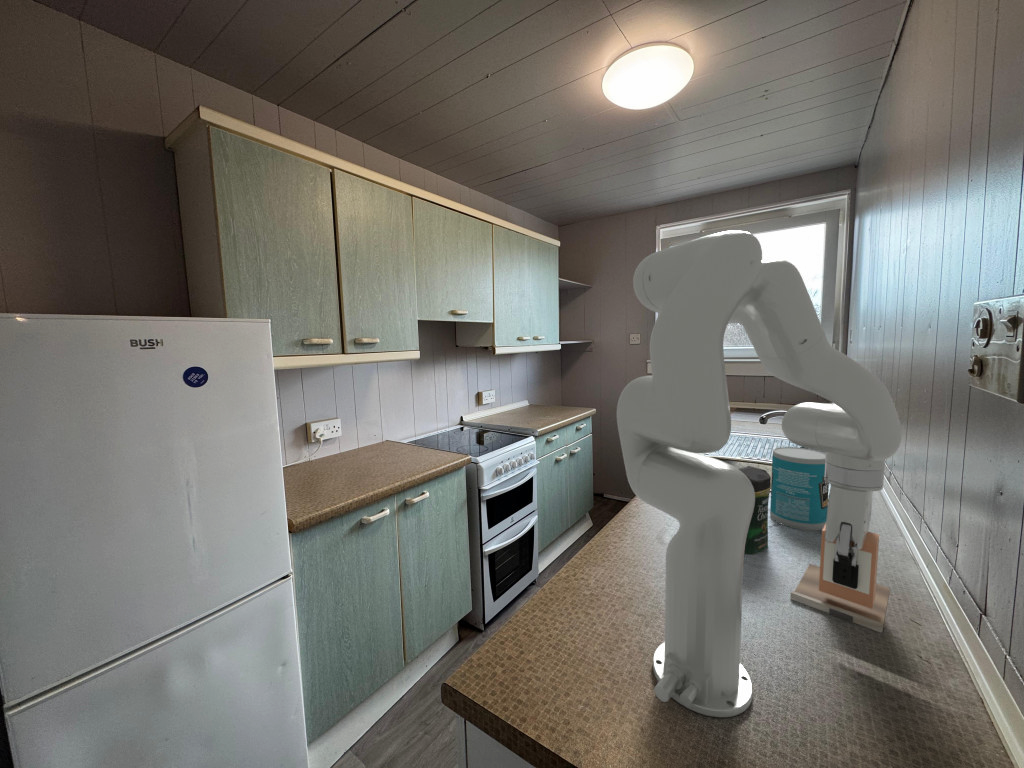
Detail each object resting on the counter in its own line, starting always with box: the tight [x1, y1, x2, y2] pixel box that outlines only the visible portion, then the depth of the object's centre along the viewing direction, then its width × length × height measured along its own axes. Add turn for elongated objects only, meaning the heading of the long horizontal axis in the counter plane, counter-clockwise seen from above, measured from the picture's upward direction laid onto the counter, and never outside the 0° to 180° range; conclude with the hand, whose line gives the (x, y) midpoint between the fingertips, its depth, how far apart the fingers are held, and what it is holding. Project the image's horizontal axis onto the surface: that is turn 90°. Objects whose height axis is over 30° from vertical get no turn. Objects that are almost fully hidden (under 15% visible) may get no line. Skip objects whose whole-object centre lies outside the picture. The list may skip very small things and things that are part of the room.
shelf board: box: [790, 563, 891, 634], centre depth 73 cm, size 16×12×2 cm
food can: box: [769, 446, 830, 531], centre depth 104 cm, size 12×12×18 cm
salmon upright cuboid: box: [819, 524, 880, 609], centre depth 69 cm, size 5×7×11 cm, turn 44°
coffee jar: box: [738, 465, 772, 555], centre depth 90 cm, size 10×8×19 cm
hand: (847, 577), depth 69 cm, fingers closed on salmon upright cuboid, 4 cm apart
